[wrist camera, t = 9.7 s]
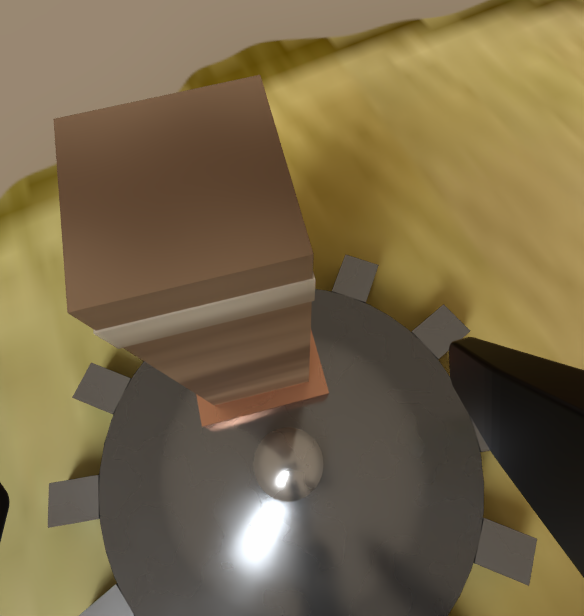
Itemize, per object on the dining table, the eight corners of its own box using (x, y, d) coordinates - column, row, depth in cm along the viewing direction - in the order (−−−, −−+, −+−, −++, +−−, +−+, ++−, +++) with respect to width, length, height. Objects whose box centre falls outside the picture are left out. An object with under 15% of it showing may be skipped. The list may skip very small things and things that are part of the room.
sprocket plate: (592, 410, 21) (625, 404, 19) (356, 898, 15) (364, 969, 13) (250, 200, 26) (245, 176, 24) (-25, 517, 20) (-64, 524, 18)
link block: (310, 382, 20) (316, 255, 8) (213, 406, 20) (64, 315, 8) (286, 293, 22) (261, 72, 9) (196, 315, 21) (51, 117, 9)
